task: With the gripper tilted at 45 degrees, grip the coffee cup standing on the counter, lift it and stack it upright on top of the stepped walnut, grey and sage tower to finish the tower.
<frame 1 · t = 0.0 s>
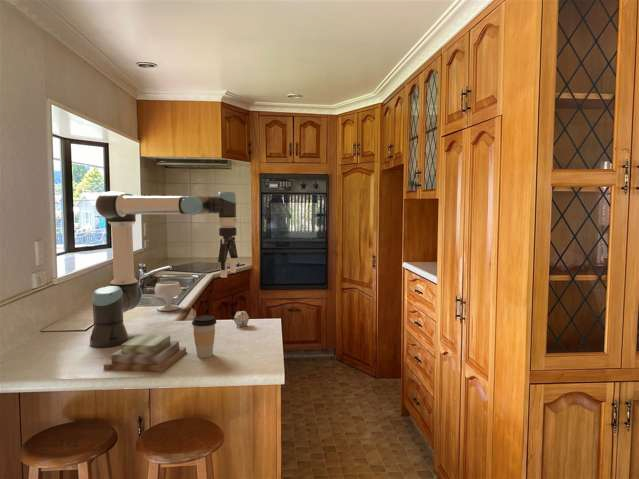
hand: (228, 274, 206), 28 cm above the counter, tool pointing down, fingers open, 13 cm apart
tower base: (147, 360, 178), on the counter
game die: (241, 327, 225), on the counter
coffee cup: (205, 355, 183), on the counter
chalice: (168, 309, 261), on the counter
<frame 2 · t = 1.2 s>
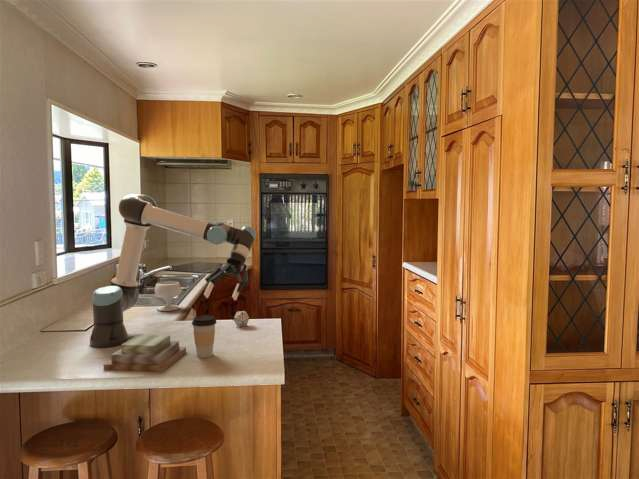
hand: (219, 297, 192), 21 cm above the counter, tool tilted 45°, fingers open, 13 cm apart
nothing on the counter moved.
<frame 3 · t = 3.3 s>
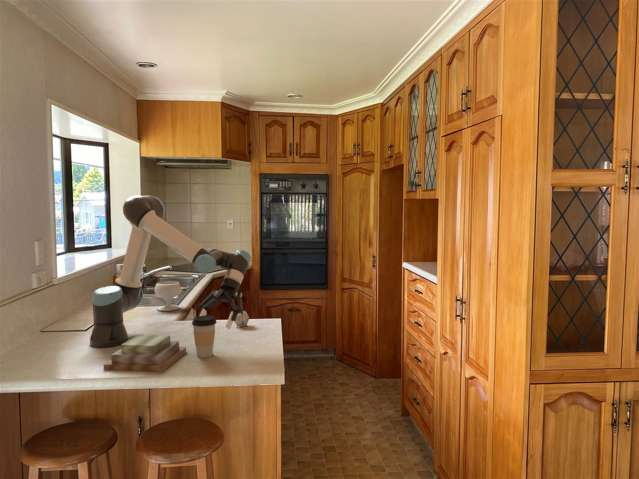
hand: (212, 325, 186), 11 cm above the counter, tool tilted 45°, fingers open, 13 cm apart
nothing on the counter moved.
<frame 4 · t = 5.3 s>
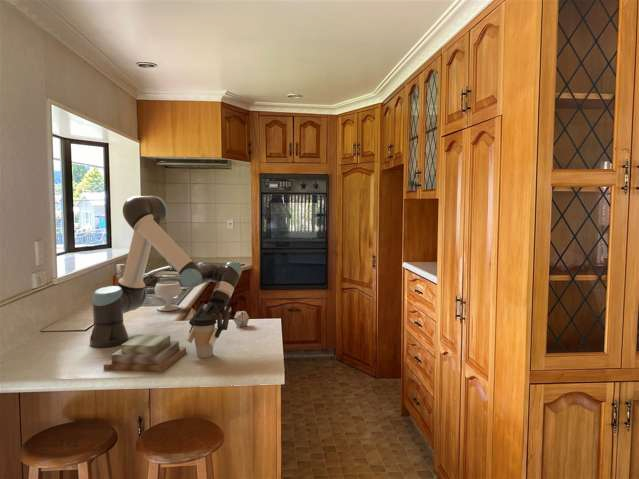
hand: (199, 343, 180), 6 cm above the counter, tool tilted 45°, fingers closed on coffee cup, 9 cm apart
coffee cup: (205, 355, 183), on the counter, touching gripper
everything else where it was.
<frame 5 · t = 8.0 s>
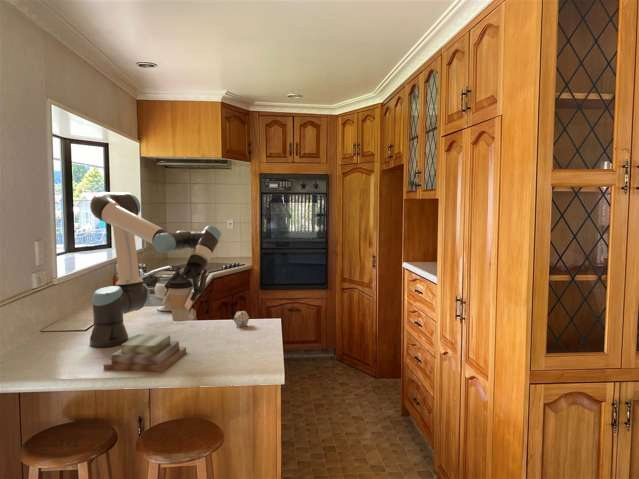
hand: (175, 306, 175), 21 cm above the counter, tool tilted 45°, fingers closed on coffee cup, 9 cm apart
coffee cup: (180, 319, 179), point 15 cm above the counter, touching gripper
everything else where it was.
when the fingers open (15 cm above the counter, at t = 11.0 s): coffee cup drops 1 cm, resting on tower base.
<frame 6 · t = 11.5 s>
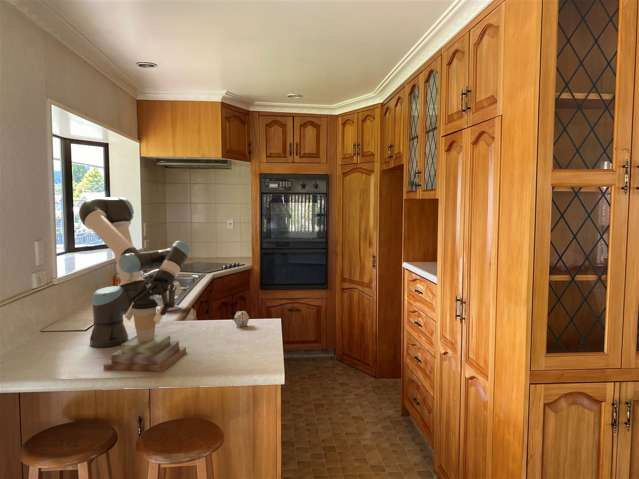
hand: (141, 320, 174), 16 cm above the counter, tool tilted 45°, fingers open, 13 cm apart
coffee cup: (146, 340, 177), point 8 cm above the counter, touching tower base
everything else where it was.
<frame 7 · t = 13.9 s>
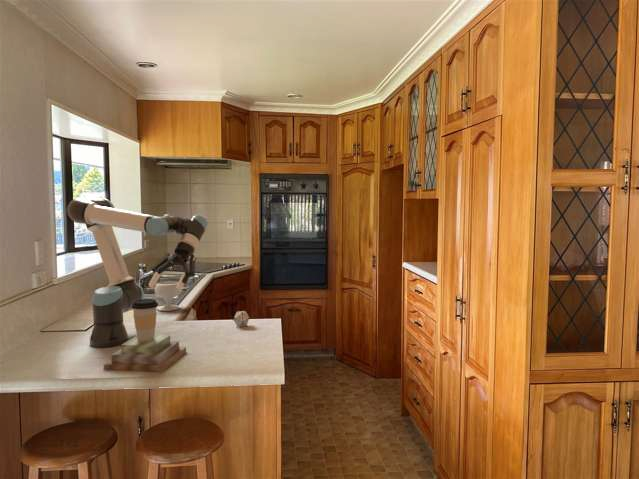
hand: (164, 288, 186), 26 cm above the counter, tool tilted 45°, fingers open, 13 cm apart
nothing on the counter moved.
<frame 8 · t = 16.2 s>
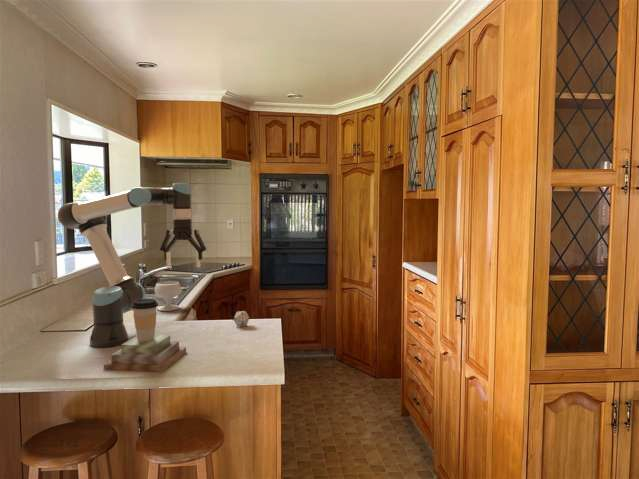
hand: (183, 267, 204), 32 cm above the counter, tool pointing down, fingers open, 13 cm apart
nothing on the counter moved.
at the end: coffee cup inside the target area on the tower base (0.2 cm from its centre), point 7.8 cm above the tower base's base; coffee cup tilted 0°; the gripper is holding nothing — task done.
